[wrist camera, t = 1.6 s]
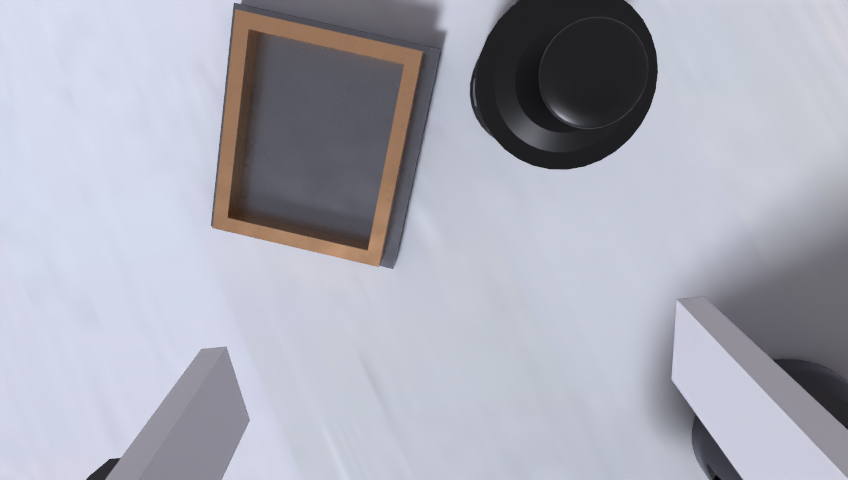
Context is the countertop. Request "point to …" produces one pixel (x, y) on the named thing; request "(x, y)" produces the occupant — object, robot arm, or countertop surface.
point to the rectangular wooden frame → (320, 135)
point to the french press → (565, 80)
